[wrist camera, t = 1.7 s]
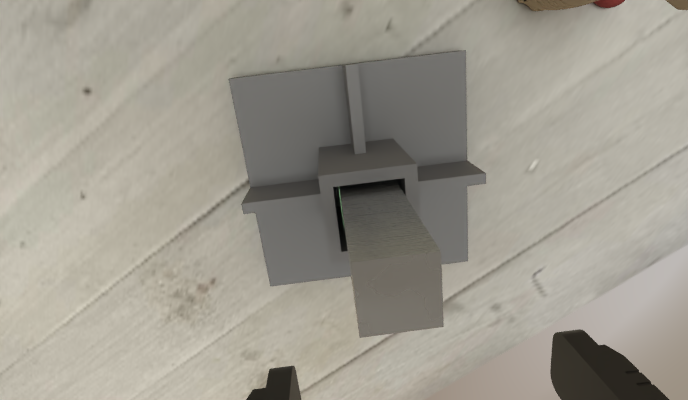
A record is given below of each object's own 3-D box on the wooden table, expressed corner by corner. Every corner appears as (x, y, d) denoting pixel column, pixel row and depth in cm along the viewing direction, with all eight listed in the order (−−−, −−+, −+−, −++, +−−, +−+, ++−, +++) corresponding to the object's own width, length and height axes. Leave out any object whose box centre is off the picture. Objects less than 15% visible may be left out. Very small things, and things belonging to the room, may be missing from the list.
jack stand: (272, 277, 37) (249, 377, 25) (232, 78, 31) (179, 87, 19) (462, 253, 37) (526, 340, 26) (459, 50, 31) (541, 43, 20)
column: (340, 204, 33) (358, 338, 17) (335, 161, 32) (349, 261, 16) (384, 198, 33) (444, 327, 17) (380, 155, 32) (442, 249, 16)
